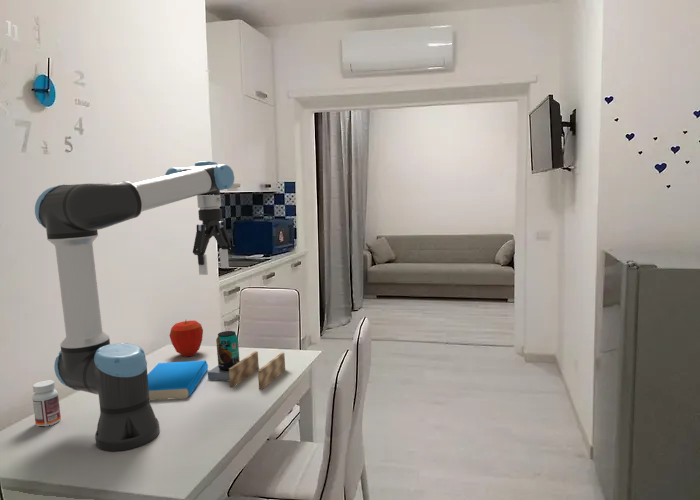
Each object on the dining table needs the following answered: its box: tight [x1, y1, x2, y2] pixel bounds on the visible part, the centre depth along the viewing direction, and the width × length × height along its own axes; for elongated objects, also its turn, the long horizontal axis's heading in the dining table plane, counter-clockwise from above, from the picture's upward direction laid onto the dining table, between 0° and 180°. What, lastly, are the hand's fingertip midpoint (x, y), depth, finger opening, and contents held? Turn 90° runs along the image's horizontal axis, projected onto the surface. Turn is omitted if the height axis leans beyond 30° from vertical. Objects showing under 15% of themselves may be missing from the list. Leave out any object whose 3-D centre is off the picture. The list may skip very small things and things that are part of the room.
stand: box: [207, 365, 230, 381], centre depth 179 cm, size 10×10×2 cm
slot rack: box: [229, 350, 286, 390], centre depth 174 cm, size 18×11×6 cm, turn 163°
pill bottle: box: [32, 379, 62, 427], centre depth 147 cm, size 6×6×11 cm
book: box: [147, 360, 209, 401], centre depth 172 cm, size 17×4×25 cm
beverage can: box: [216, 330, 241, 371], centre depth 177 cm, size 7×7×12 cm
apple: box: [169, 320, 204, 357], centre depth 202 cm, size 12×12×14 cm
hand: (214, 271), depth 180 cm, fingers open, 13 cm apart
